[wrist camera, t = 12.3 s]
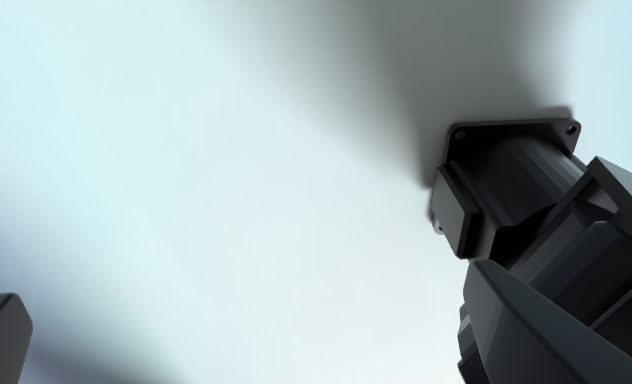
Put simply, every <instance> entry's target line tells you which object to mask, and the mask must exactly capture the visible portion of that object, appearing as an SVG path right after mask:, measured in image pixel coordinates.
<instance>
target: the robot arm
mask: <svg viewBox="0 0 632 384" xmlns="http://www.w3.org/2000/svg"><path fill="white" fill-rule="evenodd" d="M570 126H572V127H571V129H570V130H569V131H566V130H567V128H569V127H570ZM460 131H463V132H462V135H460V136H459V137H455V135H456V133H458V132H460ZM580 131H581V124H580V123H579V122H577V121H576V120H575V119H574V118H551V119H530V120H508V121H487V122H466V123H456V124H454V125H452V126H451V127H450V128H449V130H448V132H447V138H446V144H445V150H444V156H443V162H442V164H440V166H439V167H438V168H437V171H436V178H435V184H434V190H433V197H432V203H431V209H432V211H433V213H434V216H433V222H432V226H433V228H434V230H435V232H436V233H437V234H441V235H444V234H445V236H446V238H447V240H448V242H449V244H450V246H451V248H452V250H453V252H454V254H455V255H456V256H457V257H458V258H459V259H467V260H468V262H469V267H468V271H467V275H466V279H465V284H464V288H463V296H464V301H465V303H464V304H463V305H462V306H461V307H460V322H461V324H460V328H459V332H458V336H457V337H458V342H459V348H460V354H461V357H462V359H461V360H460V361H459V362H458V369H459V372H460V375H461V377H462V379H463V381H464V383H465V384H632V173H631V172H629V171H627V170H625V169H623V168H621V167H619V166H617V165H615V164H613V163H611V162H608V161H606V160H604V159H602V158H600V157H598V156H595V157H594V159H593V160H592V161H591V162H590V163H589V164H588V165H587V166H586V165H585V164H584V163H583V162H581V161H580V160H579V159H578V158H577V157H576V156H575V155H574V154H573V152H574V149H575V146H576V143H577V140H578V137H579V134H580ZM440 226H441V227H440ZM32 331H33V324H32V320H31V318H30V316H29V314H28V312H27V310H26V308H25V306H24V304H23V302H22V300H21V298H20V296H19V295H18V294H16V293H13V292H10V293H0V384H18V383H19V379H20V376H21V372H22V368H23V365H24V361H25V357H26V354H27V350H28V346H29V343H30V339H31V336H32Z"/></svg>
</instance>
